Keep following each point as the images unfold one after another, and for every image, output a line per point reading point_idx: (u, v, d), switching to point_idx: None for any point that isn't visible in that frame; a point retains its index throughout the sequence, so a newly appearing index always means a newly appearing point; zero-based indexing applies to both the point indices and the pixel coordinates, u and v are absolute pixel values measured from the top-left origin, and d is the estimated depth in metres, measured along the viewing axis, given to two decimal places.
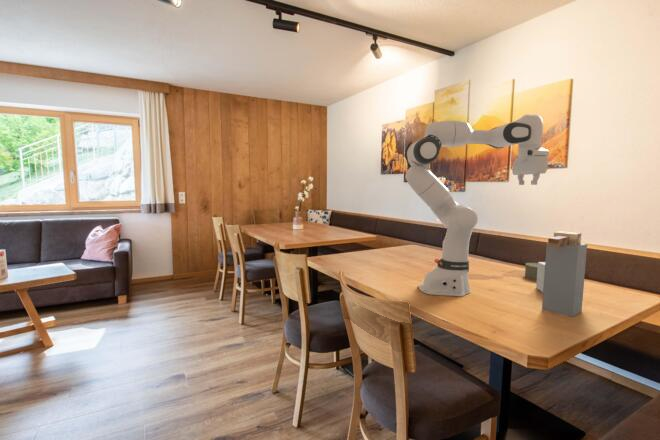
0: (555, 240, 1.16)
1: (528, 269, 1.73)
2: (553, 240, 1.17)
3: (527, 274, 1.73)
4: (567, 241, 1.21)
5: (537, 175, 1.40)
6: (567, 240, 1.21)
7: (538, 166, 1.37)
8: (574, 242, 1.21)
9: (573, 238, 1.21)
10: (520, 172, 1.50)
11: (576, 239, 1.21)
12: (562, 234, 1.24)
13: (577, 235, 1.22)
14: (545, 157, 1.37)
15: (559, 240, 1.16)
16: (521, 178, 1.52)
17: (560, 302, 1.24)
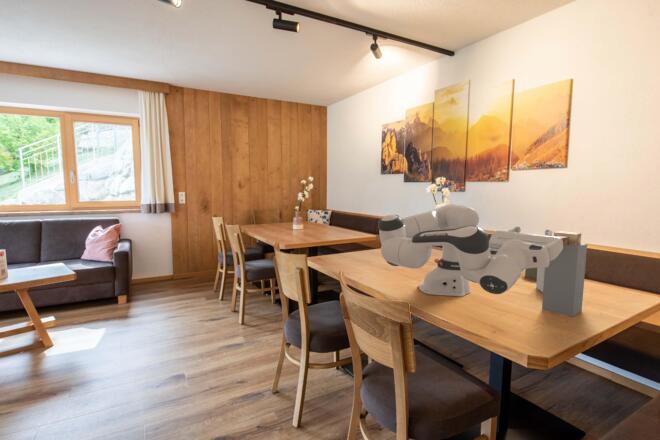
0: None
1: (528, 269, 1.73)
2: None
3: (527, 274, 1.73)
4: (567, 241, 1.21)
5: None
6: (567, 240, 1.21)
7: (560, 251, 0.99)
8: (574, 242, 1.21)
9: (573, 238, 1.21)
10: None
11: (576, 239, 1.21)
12: (562, 234, 1.24)
13: (577, 235, 1.22)
14: (551, 250, 0.97)
15: None
16: (512, 232, 1.12)
17: (560, 302, 1.24)
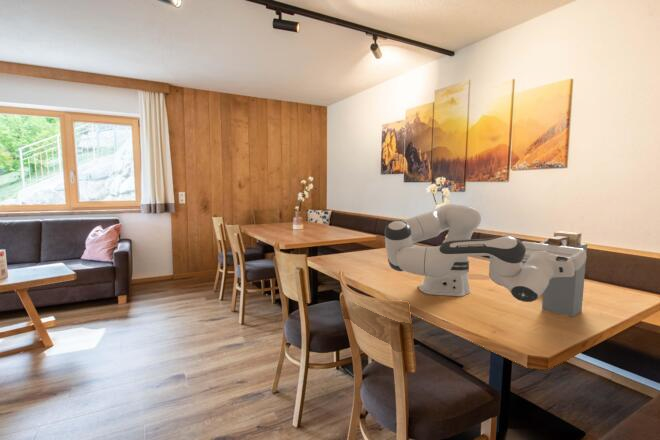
0: (555, 240, 1.16)
1: None
2: (553, 240, 1.17)
3: None
4: (567, 241, 1.21)
5: None
6: (567, 240, 1.21)
7: None
8: (574, 242, 1.21)
9: (573, 238, 1.21)
10: None
11: (576, 239, 1.21)
12: (562, 234, 1.24)
13: (577, 235, 1.22)
14: (576, 261, 1.06)
15: (559, 240, 1.16)
16: (544, 243, 1.20)
17: (560, 302, 1.24)
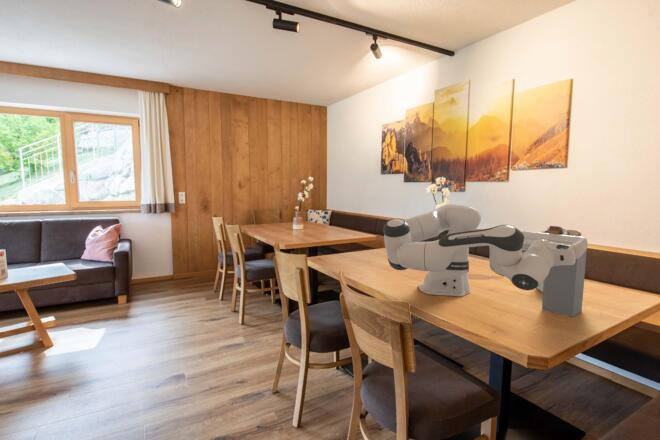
0: (556, 227, 1.16)
1: None
2: (554, 228, 1.16)
3: None
4: None
5: None
6: None
7: None
8: None
9: (573, 234, 1.21)
10: None
11: None
12: None
13: (577, 232, 1.21)
14: (577, 249, 1.05)
15: (560, 229, 1.16)
16: (545, 233, 1.19)
17: (560, 302, 1.24)
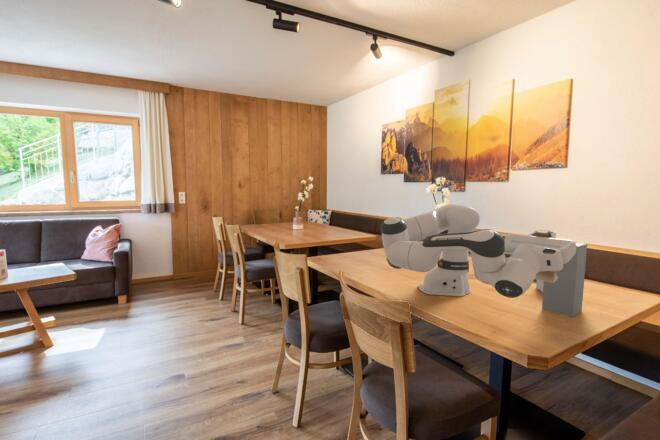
0: (546, 230, 1.10)
1: None
2: (544, 230, 1.10)
3: None
4: None
5: None
6: None
7: (573, 254, 1.01)
8: None
9: None
10: None
11: None
12: None
13: None
14: (565, 253, 0.98)
15: None
16: (532, 235, 1.12)
17: (560, 302, 1.24)
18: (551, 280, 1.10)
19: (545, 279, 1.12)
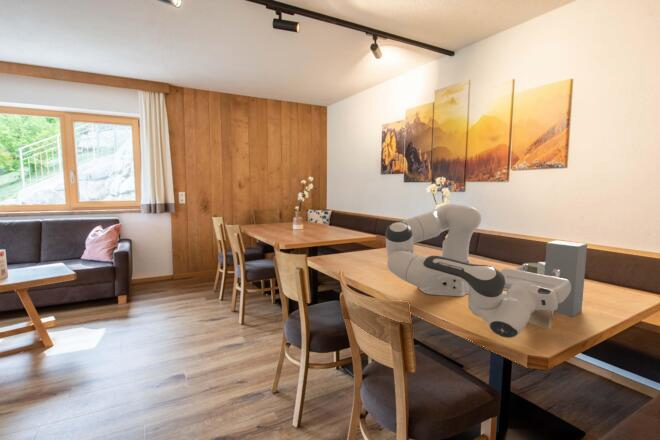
0: None
1: (528, 269, 1.73)
2: None
3: None
4: None
5: None
6: None
7: (568, 294, 1.01)
8: (549, 310, 1.11)
9: None
10: None
11: (551, 313, 1.12)
12: None
13: (553, 314, 1.12)
14: (559, 293, 0.99)
15: None
16: (520, 269, 1.14)
17: None
18: (546, 326, 1.11)
19: (540, 324, 1.12)
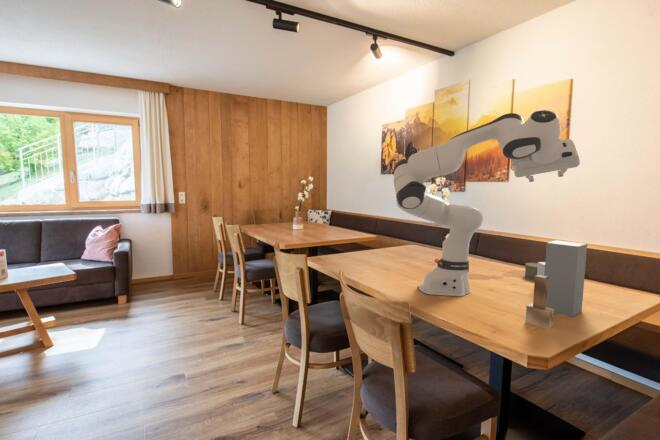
0: (545, 276, 1.13)
1: (528, 269, 1.73)
2: None
3: (527, 274, 1.73)
4: (544, 304, 1.12)
5: None
6: (544, 304, 1.13)
7: (579, 161, 1.16)
8: (549, 310, 1.11)
9: (549, 309, 1.12)
10: (536, 173, 1.23)
11: (551, 313, 1.11)
12: None
13: (553, 314, 1.12)
14: None
15: (547, 280, 1.12)
16: None
17: (560, 302, 1.24)
18: (546, 326, 1.11)
19: (540, 324, 1.12)
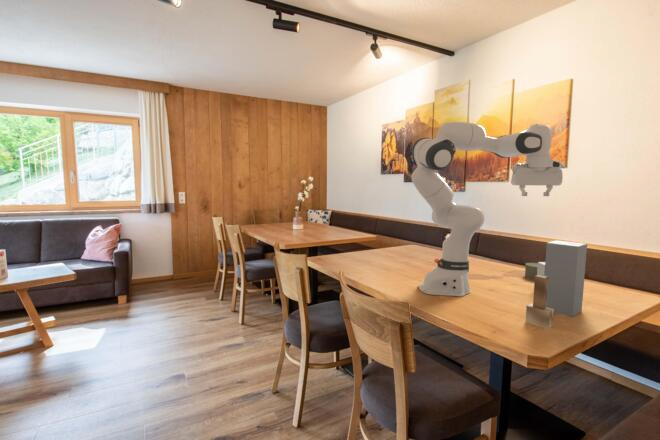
0: (545, 276, 1.13)
1: (528, 269, 1.73)
2: None
3: (527, 274, 1.73)
4: (544, 304, 1.12)
5: None
6: (544, 304, 1.13)
7: None
8: (549, 310, 1.11)
9: (549, 309, 1.12)
10: (531, 183, 1.42)
11: (551, 313, 1.11)
12: None
13: (553, 314, 1.12)
14: None
15: (547, 280, 1.12)
16: None
17: (560, 302, 1.24)
18: (546, 326, 1.11)
19: (540, 324, 1.12)
